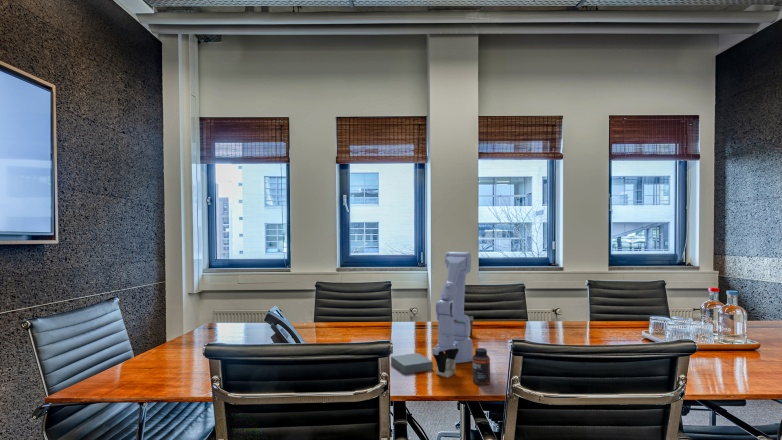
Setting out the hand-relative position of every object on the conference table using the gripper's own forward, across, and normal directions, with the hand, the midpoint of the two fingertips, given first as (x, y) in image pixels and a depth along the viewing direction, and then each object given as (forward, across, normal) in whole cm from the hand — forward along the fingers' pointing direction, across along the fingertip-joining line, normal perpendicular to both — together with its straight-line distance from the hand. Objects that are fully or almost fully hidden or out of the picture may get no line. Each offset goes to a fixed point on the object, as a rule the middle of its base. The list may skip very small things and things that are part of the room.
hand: (445, 370), depth 149 cm
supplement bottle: (+2, +1, -14) cm, 14 cm away
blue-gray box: (+1, -2, +14) cm, 14 cm away
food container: (+2, +56, +25) cm, 61 cm away
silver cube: (+1, 0, 0) cm, 1 cm away
